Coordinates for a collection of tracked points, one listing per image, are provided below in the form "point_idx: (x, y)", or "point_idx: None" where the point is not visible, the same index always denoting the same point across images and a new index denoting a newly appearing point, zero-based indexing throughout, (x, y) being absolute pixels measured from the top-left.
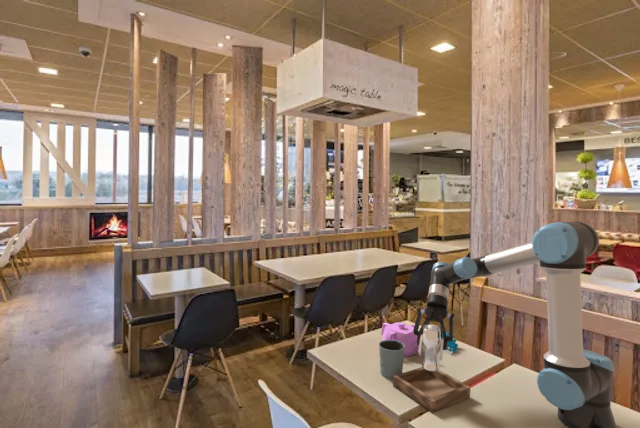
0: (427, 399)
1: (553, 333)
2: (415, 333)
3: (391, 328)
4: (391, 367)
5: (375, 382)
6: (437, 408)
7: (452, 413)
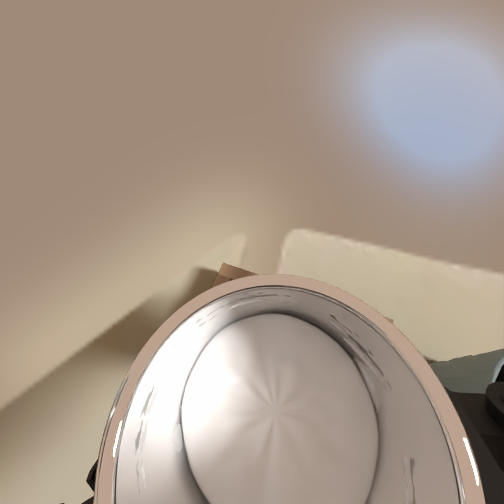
0: (240, 269)
1: None
2: (480, 402)
3: None
4: (444, 364)
5: (432, 310)
6: None
7: None
